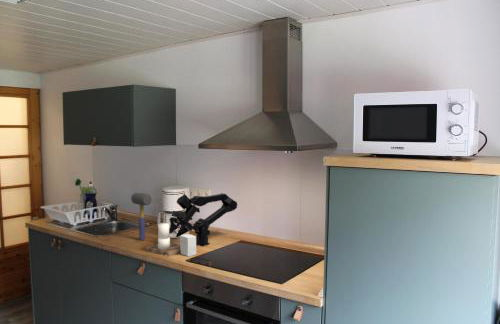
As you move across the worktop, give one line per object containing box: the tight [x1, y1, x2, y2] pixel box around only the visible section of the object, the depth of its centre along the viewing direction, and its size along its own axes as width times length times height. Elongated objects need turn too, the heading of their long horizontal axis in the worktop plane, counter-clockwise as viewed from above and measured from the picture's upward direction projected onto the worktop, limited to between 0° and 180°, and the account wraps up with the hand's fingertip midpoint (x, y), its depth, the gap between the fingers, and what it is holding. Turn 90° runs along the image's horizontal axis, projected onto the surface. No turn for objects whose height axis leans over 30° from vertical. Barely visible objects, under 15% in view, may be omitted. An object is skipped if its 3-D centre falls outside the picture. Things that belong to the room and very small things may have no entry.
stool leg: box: [157, 222, 171, 251], centre depth 229 cm, size 7×7×16 cm
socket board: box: [145, 242, 181, 257], centre depth 233 cm, size 18×15×2 cm
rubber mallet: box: [130, 192, 153, 241], centre depth 255 cm, size 12×8×30 cm, turn 54°
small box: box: [179, 233, 197, 257], centre depth 225 cm, size 8×6×10 cm
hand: (172, 235), depth 232 cm, fingers open, 9 cm apart
